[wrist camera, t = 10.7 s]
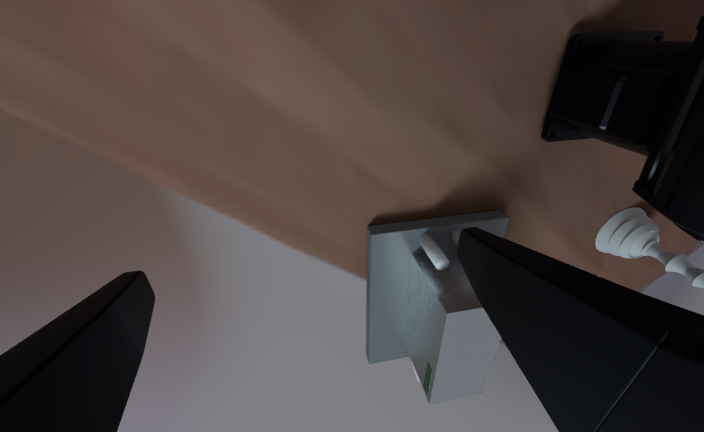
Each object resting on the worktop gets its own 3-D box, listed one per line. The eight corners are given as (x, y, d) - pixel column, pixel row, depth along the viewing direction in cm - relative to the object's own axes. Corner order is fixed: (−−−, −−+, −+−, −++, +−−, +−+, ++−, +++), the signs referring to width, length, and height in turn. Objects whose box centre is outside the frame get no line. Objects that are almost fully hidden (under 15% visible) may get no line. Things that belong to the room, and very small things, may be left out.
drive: (466, 246, 25) (514, 301, 20) (448, 331, 30) (483, 392, 25) (411, 254, 24) (446, 313, 19) (402, 339, 29) (428, 404, 24)
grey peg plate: (500, 209, 25) (536, 239, 22) (468, 334, 33) (490, 370, 29) (367, 226, 23) (382, 261, 20) (366, 353, 31) (377, 394, 28)
